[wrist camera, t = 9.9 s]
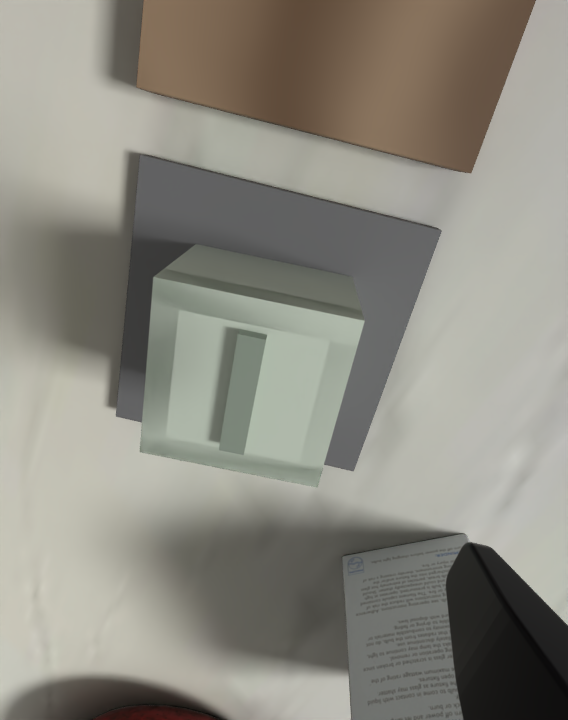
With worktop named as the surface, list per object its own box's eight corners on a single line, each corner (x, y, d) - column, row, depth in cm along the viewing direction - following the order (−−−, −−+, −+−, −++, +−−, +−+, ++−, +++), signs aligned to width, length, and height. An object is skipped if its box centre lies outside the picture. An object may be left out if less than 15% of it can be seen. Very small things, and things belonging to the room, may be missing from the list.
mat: (437, 228, 17) (441, 230, 17) (352, 463, 22) (353, 471, 21) (145, 154, 17) (139, 154, 16) (120, 409, 21) (116, 416, 21)
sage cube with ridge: (352, 276, 18) (366, 325, 13) (317, 411, 20) (317, 495, 15) (195, 244, 17) (148, 280, 13) (180, 383, 20) (135, 459, 15)
